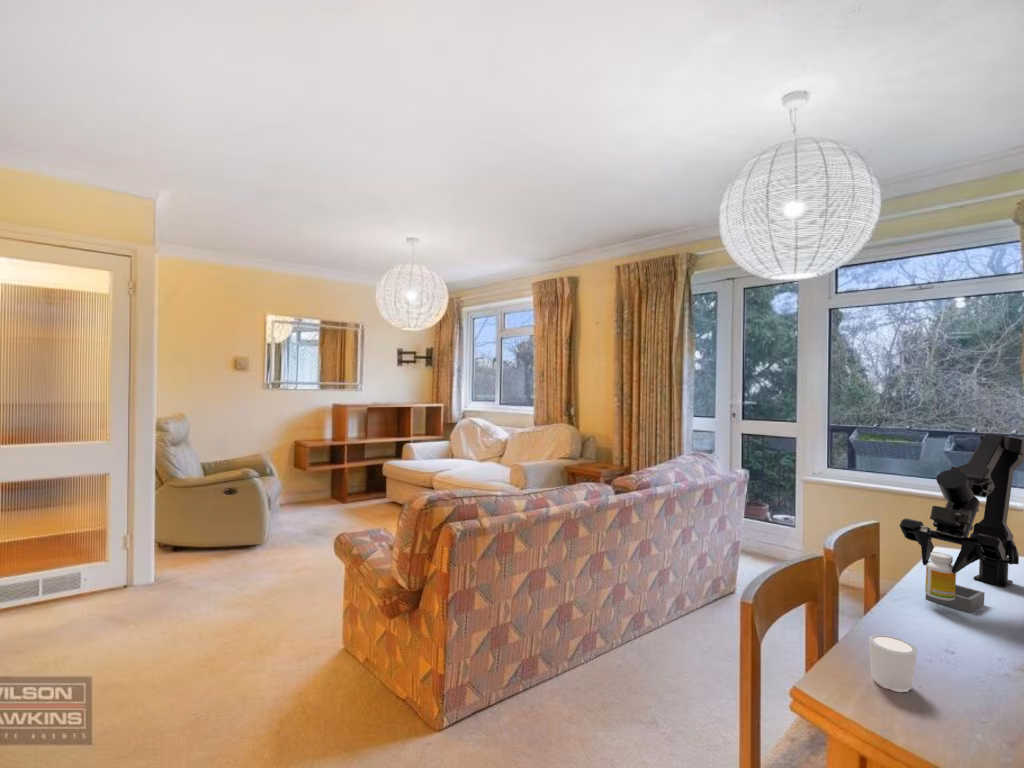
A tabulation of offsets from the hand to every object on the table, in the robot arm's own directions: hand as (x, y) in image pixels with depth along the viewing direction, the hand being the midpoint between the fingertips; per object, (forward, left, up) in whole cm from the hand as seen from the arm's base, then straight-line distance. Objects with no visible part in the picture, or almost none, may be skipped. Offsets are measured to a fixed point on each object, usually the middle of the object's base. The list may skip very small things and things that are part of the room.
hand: (938, 568), depth 120 cm
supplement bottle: (-1, 0, -7) cm, 7 cm away
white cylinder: (+43, +8, -10) cm, 45 cm away
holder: (-10, 0, -10) cm, 14 cm away
